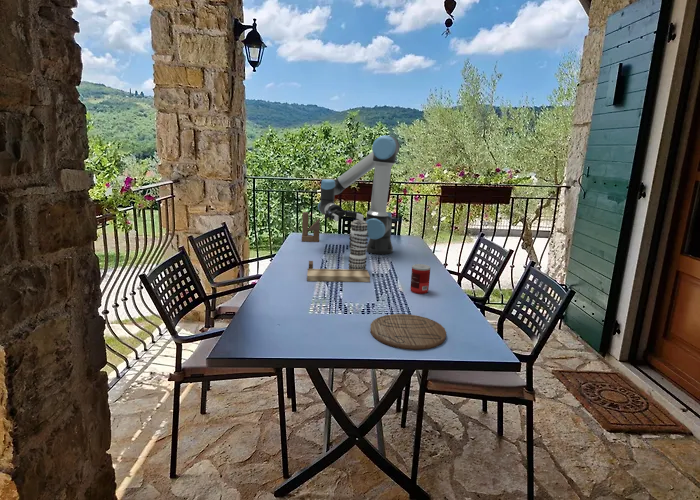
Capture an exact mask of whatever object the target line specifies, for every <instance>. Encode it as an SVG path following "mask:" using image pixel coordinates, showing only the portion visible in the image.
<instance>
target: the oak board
mask: <svg viewBox="0 0 700 500" xmlns="http://www.w3.org/2000/svg"><path fill="white" fill-rule="evenodd" d="M306 275H307V276H306V281H307V282H338V283H339V282H341V283H342V282H343V283H346V282H347V283H348V282H349V283H371V282H370V281H371V276H370V273H369V271H368V269H366V270H355V269H349V268H346V269H344V268H342V269H341V268H313V269H309V268H307V273H306Z"/></svg>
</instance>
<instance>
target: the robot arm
mask: <svg viewBox="0 0 700 500" xmlns="http://www.w3.org/2000/svg"><path fill="white" fill-rule="evenodd" d="M400 146H401V145H400V142H399V141H398V139H397V138H396V137H394V136H391V135H387V134H386V135H385V134H384V135H381V136H378V137H377V138H376V139H375V140H374V141H373V144H372V149H371V150H372V152H370V153H369V154H368V155H366V156H365V157H363V158H362V159H361V160H359V162H356V164H354V165H353V166H351V167H350V168H349V169H347V170H346V171H345V172H344V173H342V174H341V175H339V176H338V177H337V178H335V179H328V178H327V179H322V180H321V182H320V188H321V189H320V201H319V203H318V204H317V210H318V211H319V212H320V213H321V214H322V215H324V216H325V220H327V219H328V221H332V220H333V221H335V222H339V219H340V218H355V219H356V220H364V214H363V212H360V211H354V210H350V209H348V210H346V209H345V210H344V209H343V208H342V207H341V205H339V204H336V203H335V196H336V195H340V194H341V193H342V192H343V191H345V189H346V188H348V187H350V186H351V185H352V184H354V183H355V182H357V181H358V180H359V179H360V178H362V177H363V176H364V175H366V174H368V172H371V170H373V169H374V174H373V180H372V181H373V182H372V189H371V201H370V208H369V210H368V211H367V212H366V216H365V217H366V219H365V221H366V223H367V224H368V225H367V232H368V234H367V235H369V236H368V237H367V238H369V240H368V241H367V242H368V244H366V246H367V249H366V252H367V253H370V254H374V255H375V254H376V255H389V254H390V255H391V254H392V253H393V250H394V249H393V243H392V240H391V233H392V221H393V220H392V219H393V216H392V215H393V214H392V212H387V208H388V207H387V206H388V198H389V190H390V183H391V182H390V181H391V173H392V167H393V166H394V165H395V164H396V156H397V155H398V153H399V151H400Z"/></svg>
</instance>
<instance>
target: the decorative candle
mask: <svg viewBox="0 0 700 500" xmlns="http://www.w3.org/2000/svg"><path fill="white" fill-rule="evenodd" d="M367 225H368V224H367V223H366V220H364V219H363V220H359V219H354V220H353V221H352V222H351V223H350V228H351V229H350V233H349V235H348V237H349V238H348V240H349V245H348V246H349V249H350V250H349V257H348V259H349V260H348V262H349V263H348V268H347V269H355V270H367V264H366V263H367V259H368V258H367V245H368V242H369V240H368V238H369V237H368V236H369V235H367V234H368V232H367Z"/></svg>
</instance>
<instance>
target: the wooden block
mask: <svg viewBox="0 0 700 500" xmlns="http://www.w3.org/2000/svg"><path fill="white" fill-rule="evenodd" d="M320 221H321V219H320V218H318V219H317V220H316V221H315V222H314V223H313V224H312V225H310V227H309V212H306V211H303V212H302V221H301V222H302V223H301V224H302V225H301V226H302V228H301V231H302V232H301V242H305V243H306V242H308V243H309V242H311V243H319V242H320V228H321V227H320V226H321V225H320V223H321V222H320ZM309 231H311V232H312V231H313V234H309Z"/></svg>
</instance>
